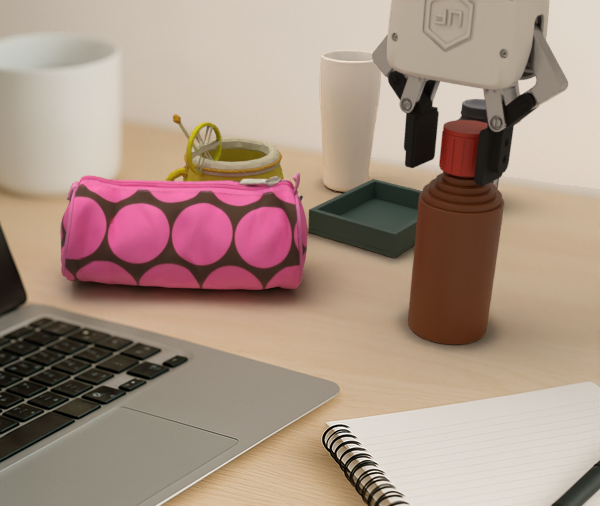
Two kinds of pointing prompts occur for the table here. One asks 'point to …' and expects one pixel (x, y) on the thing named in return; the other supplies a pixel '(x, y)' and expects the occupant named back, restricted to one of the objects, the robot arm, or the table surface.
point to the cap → (460, 147)
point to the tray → (370, 217)
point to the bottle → (454, 259)
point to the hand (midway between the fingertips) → (453, 169)
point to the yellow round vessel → (226, 157)
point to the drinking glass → (348, 116)
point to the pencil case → (185, 233)
